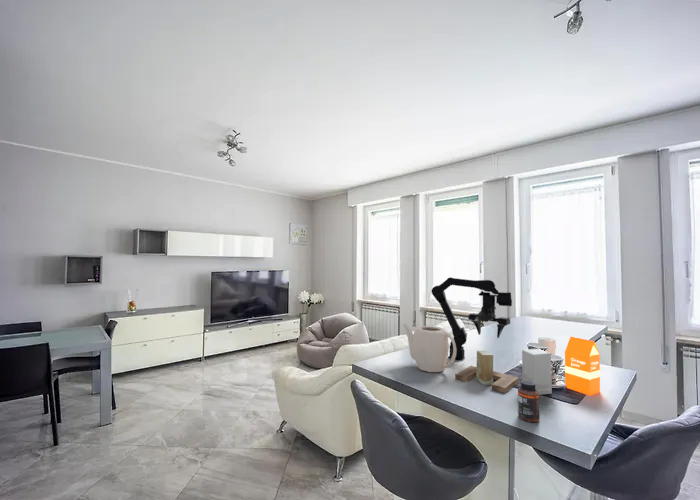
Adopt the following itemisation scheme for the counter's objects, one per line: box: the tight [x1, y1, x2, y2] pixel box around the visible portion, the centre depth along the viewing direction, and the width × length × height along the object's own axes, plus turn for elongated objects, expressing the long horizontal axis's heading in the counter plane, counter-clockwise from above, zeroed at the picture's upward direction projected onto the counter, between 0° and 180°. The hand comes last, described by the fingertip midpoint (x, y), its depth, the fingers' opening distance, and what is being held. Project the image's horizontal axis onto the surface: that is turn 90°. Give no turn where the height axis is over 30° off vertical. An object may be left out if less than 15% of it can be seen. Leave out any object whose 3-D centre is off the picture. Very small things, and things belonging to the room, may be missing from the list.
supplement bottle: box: [517, 380, 540, 423], centre depth 99 cm, size 6×6×11 cm
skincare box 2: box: [521, 348, 553, 396], centre depth 121 cm, size 8×7×16 cm
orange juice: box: [564, 336, 601, 397], centre depth 124 cm, size 8×9×20 cm
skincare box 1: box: [475, 350, 494, 386], centre depth 130 cm, size 6×4×12 cm
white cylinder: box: [537, 337, 557, 356], centre depth 144 cm, size 7×7×15 cm
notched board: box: [454, 365, 520, 394], centre depth 131 cm, size 20×16×2 cm
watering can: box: [403, 323, 457, 373], centre depth 145 cm, size 16×27×19 cm, turn 51°
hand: (488, 336), depth 156 cm, fingers open, 9 cm apart
